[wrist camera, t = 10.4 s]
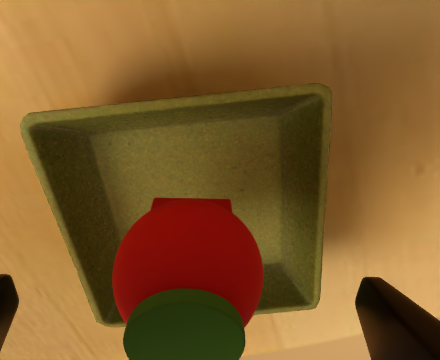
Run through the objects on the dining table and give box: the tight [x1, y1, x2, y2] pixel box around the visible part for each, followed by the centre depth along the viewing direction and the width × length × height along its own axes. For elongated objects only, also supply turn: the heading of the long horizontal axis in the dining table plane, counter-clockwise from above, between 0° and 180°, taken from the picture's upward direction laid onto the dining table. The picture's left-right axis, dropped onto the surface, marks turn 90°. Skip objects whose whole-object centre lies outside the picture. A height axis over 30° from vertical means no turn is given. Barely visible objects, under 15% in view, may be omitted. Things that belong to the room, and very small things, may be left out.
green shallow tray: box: [20, 83, 332, 327], centre depth 12 cm, size 9×9×2 cm
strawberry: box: [112, 197, 263, 360], centre depth 9 cm, size 4×4×4 cm
